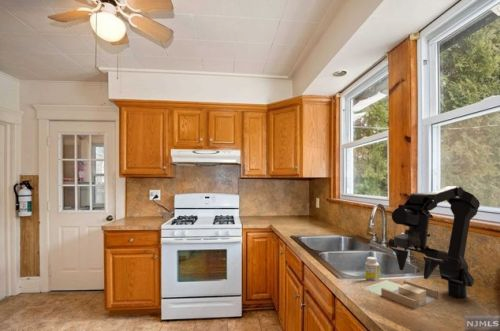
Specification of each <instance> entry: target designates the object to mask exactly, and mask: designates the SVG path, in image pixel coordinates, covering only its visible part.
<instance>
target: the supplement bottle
mask: <svg viewBox="0 0 500 331" xmlns="http://www.w3.org/2000/svg"><path fill="white" fill-rule="evenodd" d="M364 265H365V266H364V267H365V268H364V269H365V281H366V282H368V281H375V282H377V281H379V280H380V264H379V262H378V258H377V257H373V256H367V258H366V261H365V264H364Z"/></svg>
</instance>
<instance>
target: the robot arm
mask: <svg viewBox="0 0 500 331" xmlns="http://www.w3.org/2000/svg"><path fill="white" fill-rule="evenodd" d="M442 202H447V203H448V204H449V205H450V211H451V213H452V215H453V220H452V221H453V222H452V227H451V233H450V240H449V245H448V249H447V251H445V250H440V249H436V248H431V247H429V245H427V242H428V238H430V237H431V234H430V233H428V232H429V226H430V225H429V223H430V219H433V218H434V216H433V215H432V213H430V211H432V210H434V209H435V208H437V207H438V204H439V203H442ZM480 205H481V204H480V201H479V199H478V198H477V196H475V195H474V194H472V193H470V192H469V191H467V190H465V189H463V187H461V186H458V185H446V186H445V187H443V188H439V189H436V190H432V191H429V192H415V193H414V192H413V193H410V195H409V197H408V198H407V199H406V201H405V202H404V203H403V204H398V205H397V206H398V207H396V208H394V210H393V212H392V213H391V219H392V221H393V223H395V224H397V225H400V226H403V227H404V226H405V227H408V229H407V228H406V229H405V230H404V233H401V234H397V235H394V236H393V238H390V239H389V240H388V242H387V246H388V247H390V250H392V251H393V253H394V254H395V256H396V259H397V264H398V268H399V271H403V270H404V268H405V266H406V261H407V257H408V255H409V251H413V252H415V253H420V254H424V256H422V257H423V260H424V268H423V279H424V280H428V279H429V277H430V276H431V275H432V273H433V272H434V270H435V269H437V267H438V271H439V275H440V279H442V280H444V281H446V282H447V294H448V296H449V297H452V298H454V299H467V298H468V291H467V290H468V289H467V287H470V288H472V287H473V285H474V280H475V279H474V277H473V275H471V273H470V272H469V264H468V263H467V260H466V259H465V254H466V253H465V252H466V247H467V241H468V235H469V229H470V223H471V220H472V219H473V218H474V217H475V216H476V215H477V214H478V210H479V208H480Z"/></svg>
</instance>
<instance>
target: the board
mask: <svg viewBox="0 0 500 331" xmlns="http://www.w3.org/2000/svg"><path fill="white" fill-rule="evenodd" d="M404 284H408V285H411V286H414V287H417V288H420V289H423V290H426V302H425V303H423V304H421V305H417V303H416V300H414V299H411V298H409V297H406V296H403V295H400V294H399V290H398V287H399V286H402V285H404ZM402 285H401V284H399V283H395V282H392V281H390V280H387V279H385V280H383V281H380V282H377V283H374V284H373V283H372V284H371V285H368V286H364V287H363V289H364V290H367V291H369V292H372V293H375V294H377V295H379V296H382V297H384V298H386V299H389V300H392V301H395V302H397V303H399V304H402V305H405V306H407V307H410V308H412V309H414V310H417V309H418V308H420V307H422V306H424V305H427V304H428V303H430V302H432V301H434V300H436V299H439V290H437V289H434V288H430V287H427V286H424V285H422V284H418V283H416V282H412V281H408V280H405V279H404V280H403V284H402Z"/></svg>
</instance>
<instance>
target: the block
mask: <svg viewBox="0 0 500 331" xmlns="http://www.w3.org/2000/svg"><path fill="white" fill-rule="evenodd" d="M398 290H399V294H400V295H403V296H406V297H409V298H411V299H414V300H416V303H417V305H421V304H423V303H425V302H426V290H423V289H420V288H417V287H414V286H411V285H408V284H404V283H403V284H402V286H399V287H398Z"/></svg>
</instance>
